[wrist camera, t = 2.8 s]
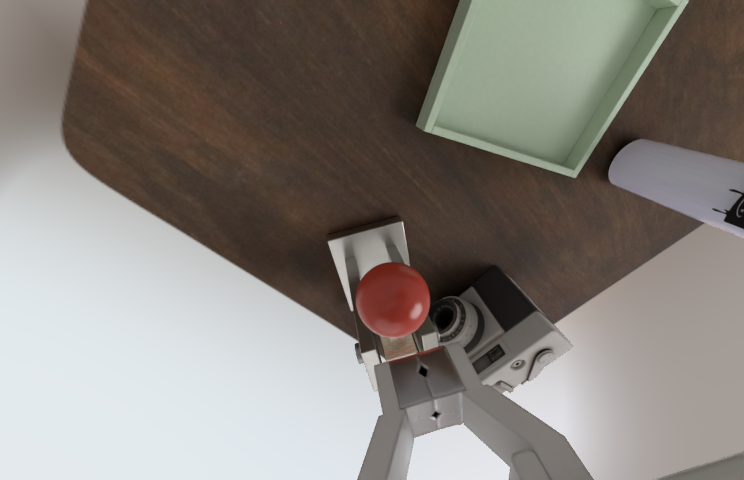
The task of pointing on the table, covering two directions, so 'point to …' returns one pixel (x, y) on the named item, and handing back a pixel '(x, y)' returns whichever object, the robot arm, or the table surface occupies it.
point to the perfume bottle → (684, 182)
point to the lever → (393, 306)
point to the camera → (499, 331)
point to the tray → (542, 74)
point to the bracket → (354, 260)
